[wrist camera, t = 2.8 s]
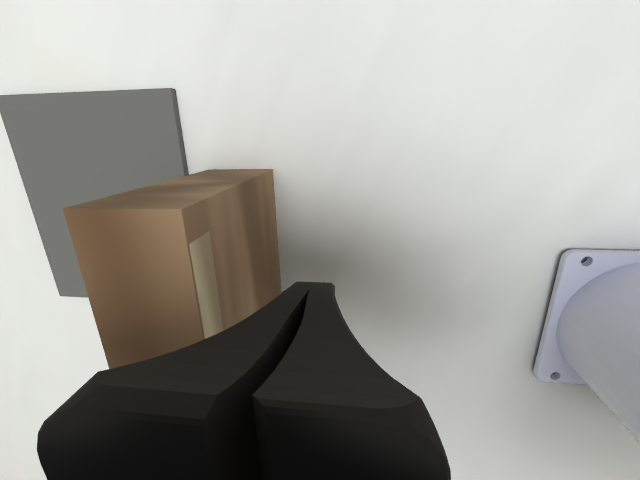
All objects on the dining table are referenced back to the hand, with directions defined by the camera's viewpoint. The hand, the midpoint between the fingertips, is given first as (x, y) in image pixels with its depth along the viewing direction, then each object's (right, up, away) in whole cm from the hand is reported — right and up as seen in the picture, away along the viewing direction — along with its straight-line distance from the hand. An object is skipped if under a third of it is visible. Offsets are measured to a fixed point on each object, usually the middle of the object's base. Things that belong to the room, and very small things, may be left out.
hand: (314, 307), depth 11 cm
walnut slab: (-4, +2, +7) cm, 9 cm away
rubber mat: (-12, +4, +8) cm, 15 cm away
